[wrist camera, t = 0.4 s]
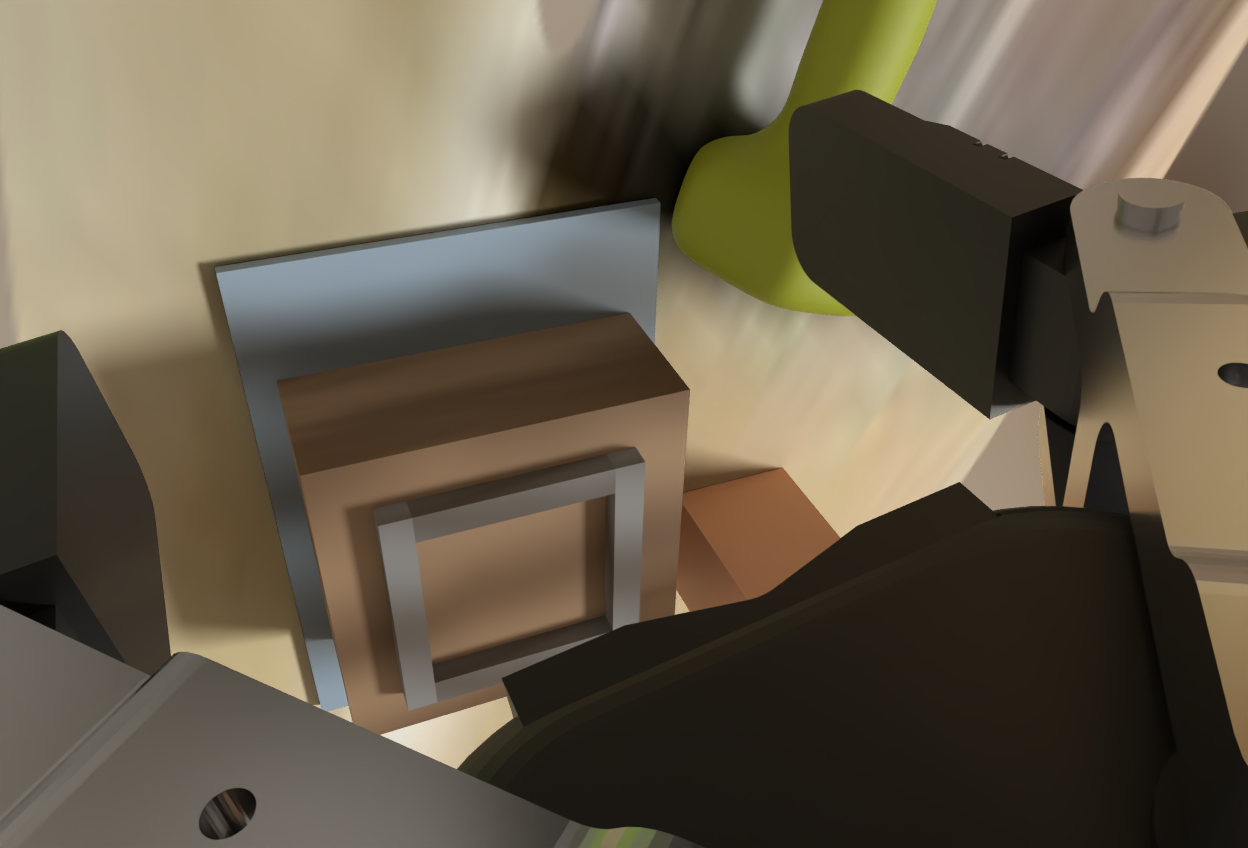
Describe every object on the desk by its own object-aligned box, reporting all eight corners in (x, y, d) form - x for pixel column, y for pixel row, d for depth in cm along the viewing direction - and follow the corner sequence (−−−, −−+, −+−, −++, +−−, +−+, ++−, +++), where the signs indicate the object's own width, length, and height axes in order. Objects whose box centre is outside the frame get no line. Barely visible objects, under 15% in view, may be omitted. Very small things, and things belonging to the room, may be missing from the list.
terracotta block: (676, 494, 44) (795, 672, 36) (782, 467, 45) (917, 632, 38) (671, 580, 47) (780, 760, 39) (770, 552, 48) (893, 720, 41)
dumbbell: (804, 248, 39) (917, 347, 34) (615, 216, 35) (708, 323, 30) (1021, -255, 31) (1213, -229, 26) (808, -366, 27) (982, -363, 22)
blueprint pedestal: (214, 266, 31) (236, 380, 26) (655, 197, 35) (740, 284, 30) (320, 705, 43) (348, 835, 38) (639, 613, 47) (698, 720, 42)
